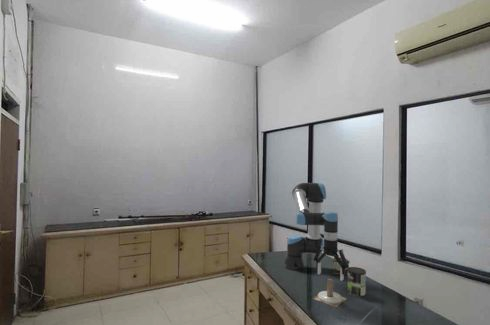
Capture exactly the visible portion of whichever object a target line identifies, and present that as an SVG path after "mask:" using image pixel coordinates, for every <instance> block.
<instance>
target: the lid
mask: <svg viewBox="0 0 490 325" xmlns="http://www.w3.org/2000/svg"><path fill="white" fill-rule="evenodd" d="M317 295H318V298H319V299H320V300H321V301H323V302H322V303H324V302H325V303H324V304H326V303H329V304H338V303H341V302H342V297H343V296H342V295H341V294H339V293H338V292H335V291H334V279H332V278H327V279H326V290H322V291H320V292H318V294H317ZM321 301H320V302H321ZM342 303H343V302H342ZM342 303H341V304H342ZM329 304H328V305H329Z"/></svg>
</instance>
